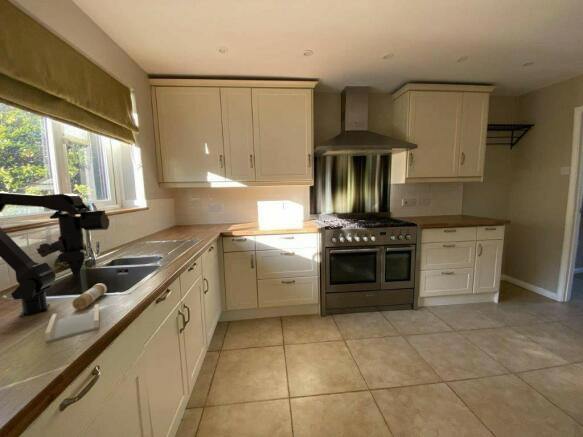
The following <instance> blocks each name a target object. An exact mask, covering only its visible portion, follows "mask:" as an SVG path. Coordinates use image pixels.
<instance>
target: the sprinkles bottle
mask: <svg viewBox="0 0 583 437" xmlns="http://www.w3.org/2000/svg"><path fill="white" fill-rule="evenodd" d="M107 291H108V289H107V285H105V283H96V284H94V285H93V286H92V287H91V288H89V289H87V290H86V291H84V292H83V293H81V294H80V295H79V296H77V297H75V298H74V299H73V301H72V307H73V308H74V309H75V310H76V311H77V310H79V311H81V310H84V309H86V308H87V307H88V306H89V305H91V304H92V303H94V302H95V301H96V300H97V299H99V297H101V296H103V295H104V294H106V292H107Z"/></svg>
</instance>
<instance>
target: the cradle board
mask: <svg viewBox="0 0 583 437" xmlns="http://www.w3.org/2000/svg"><path fill="white" fill-rule="evenodd" d="M93 309H94V310H93V311H89V312H84V313H80V314H76V315H72V316H68V317H67V316H66V317H64V318H59V319H58V313H53V314H51V317H50V319H49V322H48V325H47V327H46V330H45V332H44V338H45V339H44V340H45V343H46V344H47V343H50V342H54V341H58V340H62V339H65V338H69V337H73V336H76V335H80V334H85V333H89V332H91V331H94V330H98V329H100V305H99V303H97V304H94V308H93Z"/></svg>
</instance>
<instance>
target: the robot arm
mask: <svg viewBox="0 0 583 437" xmlns="http://www.w3.org/2000/svg"><path fill="white" fill-rule="evenodd" d="M6 206H21V207H23V206H25V207H38V208H39V207H40V208H44V209H45V208H46V209H48V210H51V211H55V212H54V213H53V214H51V216H49V218H50V219H53V220H54V219H58V227H59V236H58V237H57V240H54V241H51V242H46V241H45V242H43V243H41V244H39V246H38V247H37V248H36V251H37V254H39V255H40V257H41V258H45V257H47V256H49V255H51V254H53V253H56V252H59V254H58V256H57V260H58V261H57V262H58V263H60V264H62V263H67V264H68V267H69V269H70V271H71V273H72V275H73V277H74V278H77V277H79V276H80V272H81V270H82V267H83V265H84V261H85V260H86V256H87V254H86V252H87V244H85V242H84V231H86V232H87V231H88V232H89V231H91V232H92V231H107V230H108V229H109V226H110V219H109V216H108V215H107V213H106V210H104V209H103V210H102V209H100V210H91V209H90V207H89V206H87V205H86V204H85V203H84V201H83V199H82V197H81V196H80V195H79V194H76V193H58V194H45V195H44V194H32V193H31V194H29V193H28V194H27V193H17V192H15V193H13V192H7V191H0V213H1V212H3V210H4V209H5V207H6ZM83 230H84V231H83ZM0 258H2V260H3V261H5V263H6V264H8V266H10V268H11V269H12V270H13V271H14V272H15V279H16V282H17V284H18V287H16V289H14V290H13V291H12V292H11V297H12V298H13V300H14V301H15V300H20V302H21V309H22V310H21V313H20V314H19V315H18V317H19V318H23V317H26V316H33V315H37V314H40V313H44V312H48V311H49V308H50V307H51V304H50V303H48V302H47V296H46V295H47V294H46V291H47V290H49V289H51V287H52V284H54V282H55V281H56V276H57V275H56V273H55V269H53V268H51V267H50V265H49V264H48V263H47V262H42V263H38V262H36V261H34V260H33V259H32V258H31V257H30V256H29V255H28V254H27V253H26V252H25V251H24V250H23V249H22V248H21V247H20V246H19V245H18V244H17V243H16V242H15V241H14V240H13V238H12V237H10V235H8V234H7V233H6V232H5V231H4V229H2V227H1V226H0Z"/></svg>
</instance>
